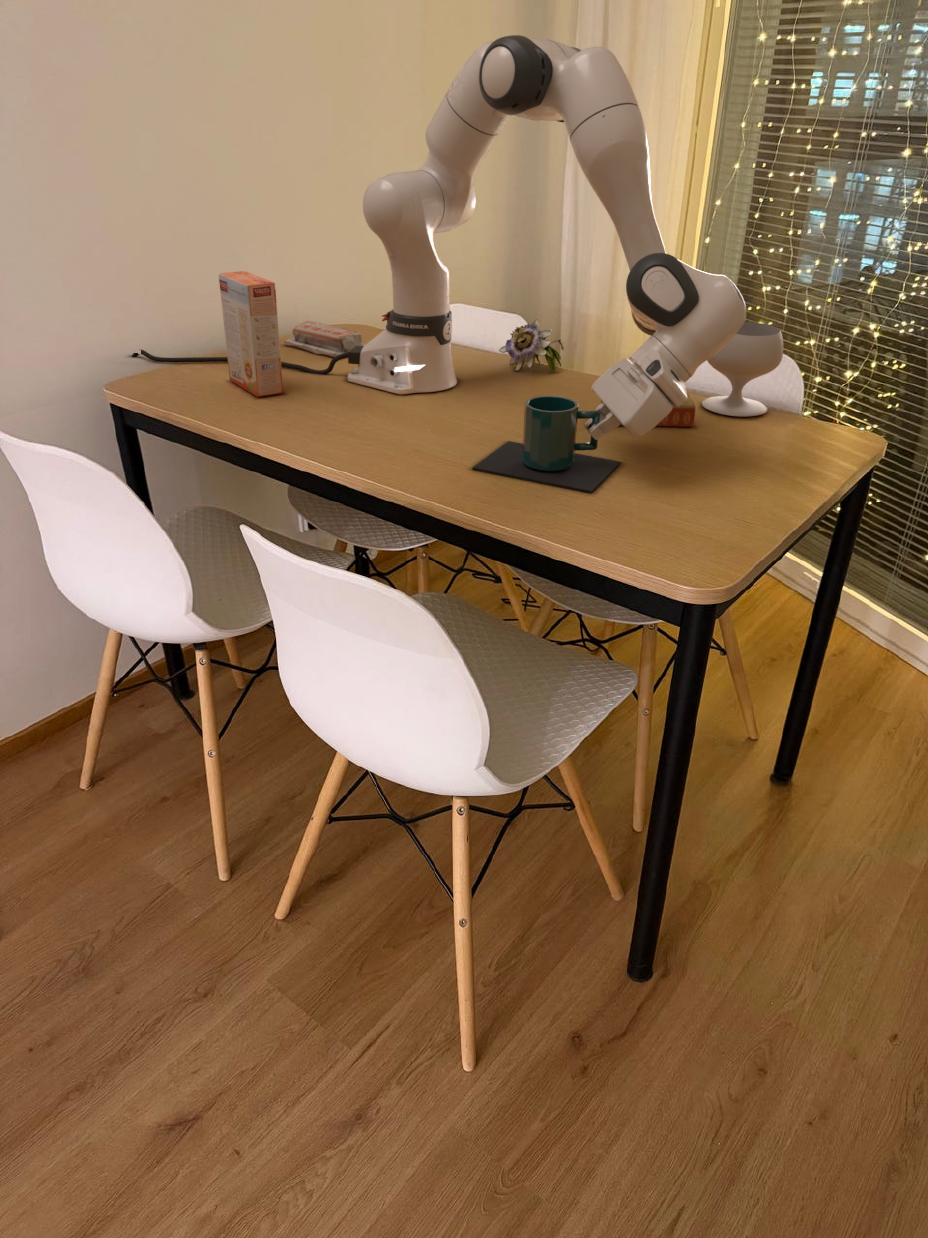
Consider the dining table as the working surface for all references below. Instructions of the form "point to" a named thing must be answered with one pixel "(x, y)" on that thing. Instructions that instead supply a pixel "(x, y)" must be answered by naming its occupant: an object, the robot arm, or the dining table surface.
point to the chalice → (745, 367)
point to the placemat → (577, 477)
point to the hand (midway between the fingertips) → (589, 433)
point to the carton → (680, 415)
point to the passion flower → (531, 347)
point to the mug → (553, 432)
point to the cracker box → (251, 332)
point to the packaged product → (324, 339)
